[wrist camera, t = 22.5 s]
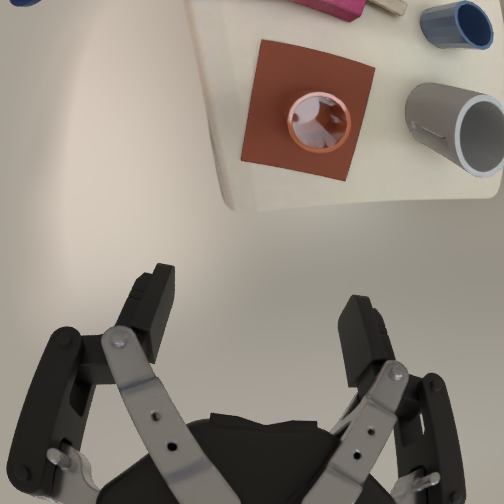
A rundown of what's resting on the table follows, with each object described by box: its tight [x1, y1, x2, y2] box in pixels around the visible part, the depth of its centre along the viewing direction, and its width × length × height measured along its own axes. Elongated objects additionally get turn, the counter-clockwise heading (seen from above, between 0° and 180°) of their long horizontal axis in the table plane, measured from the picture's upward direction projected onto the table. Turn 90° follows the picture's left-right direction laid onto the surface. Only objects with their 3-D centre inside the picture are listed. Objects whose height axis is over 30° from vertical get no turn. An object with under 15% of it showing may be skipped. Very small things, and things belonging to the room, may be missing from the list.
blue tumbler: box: [420, 0, 494, 50], centre depth 19 cm, size 6×6×8 cm
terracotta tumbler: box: [283, 88, 352, 154], centre depth 28 cm, size 6×6×8 cm
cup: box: [405, 83, 504, 178], centre depth 25 cm, size 9×9×12 cm
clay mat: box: [241, 40, 375, 181], centre depth 32 cm, size 14×16×1 cm
